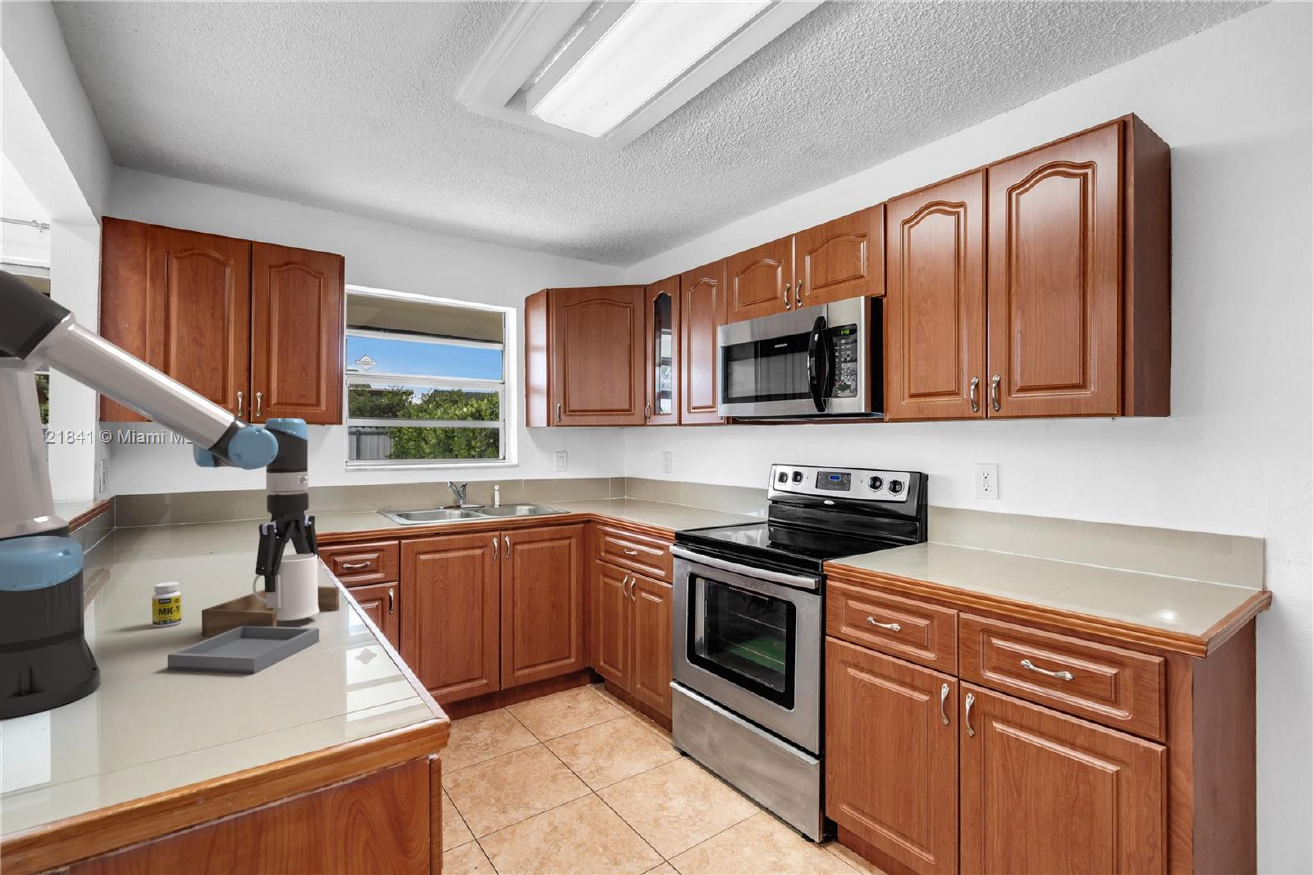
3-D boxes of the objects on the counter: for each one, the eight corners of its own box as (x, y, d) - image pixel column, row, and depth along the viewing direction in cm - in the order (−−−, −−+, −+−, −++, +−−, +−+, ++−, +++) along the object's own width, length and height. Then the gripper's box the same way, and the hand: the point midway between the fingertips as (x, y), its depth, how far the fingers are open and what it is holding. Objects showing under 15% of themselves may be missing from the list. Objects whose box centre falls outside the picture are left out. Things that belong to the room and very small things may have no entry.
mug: (251, 625, 125) (250, 564, 125) (255, 614, 132) (255, 557, 132) (318, 617, 130) (318, 558, 130) (319, 607, 138) (319, 552, 138)
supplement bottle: (156, 629, 128) (155, 587, 128) (149, 625, 131) (148, 584, 131) (185, 623, 132) (184, 583, 132) (177, 619, 135) (176, 580, 135)
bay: (273, 638, 121) (272, 612, 121) (202, 635, 124) (201, 610, 123) (339, 609, 141) (338, 586, 141) (277, 607, 143) (276, 585, 143)
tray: (254, 673, 104) (254, 658, 104) (167, 669, 106) (167, 654, 106) (319, 641, 120) (319, 628, 120) (242, 638, 122) (242, 625, 122)
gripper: (266, 498, 121) (268, 616, 121) (336, 487, 142) (338, 589, 142) (230, 498, 122) (233, 615, 122) (305, 487, 143) (307, 588, 143)
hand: (289, 601), depth 132 cm, fingers closed on mug, 8 cm apart
